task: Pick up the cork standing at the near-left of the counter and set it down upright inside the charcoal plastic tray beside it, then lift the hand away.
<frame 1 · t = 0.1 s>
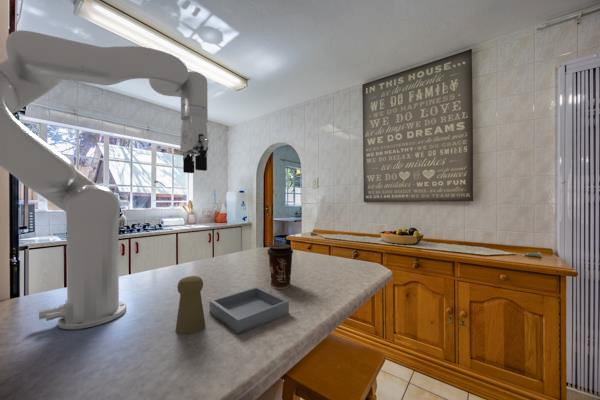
hand: (194, 171, 76), 37 cm above the countertop, tool pointing down, fingers open, 9 cm apart
coffee cup: (280, 286, 81), on the countertop
tray: (249, 312, 62), on the countertop
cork: (190, 328, 55), on the countertop
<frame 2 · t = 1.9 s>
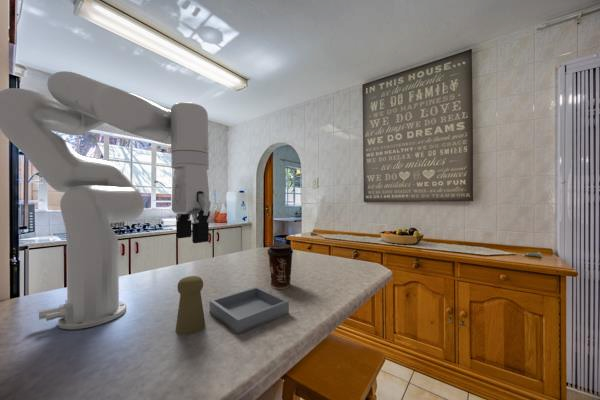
hand: (191, 239, 55), 19 cm above the countertop, tool pointing down, fingers open, 9 cm apart
nothing on the countertop moved.
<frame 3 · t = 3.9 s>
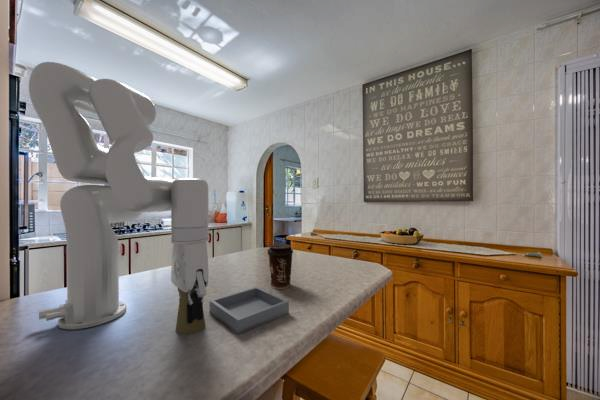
hand: (190, 316, 55), 2 cm above the countertop, tool pointing down, fingers closed on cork, 3 cm apart
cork: (190, 327, 55), on the countertop, touching gripper
everything else where it was.
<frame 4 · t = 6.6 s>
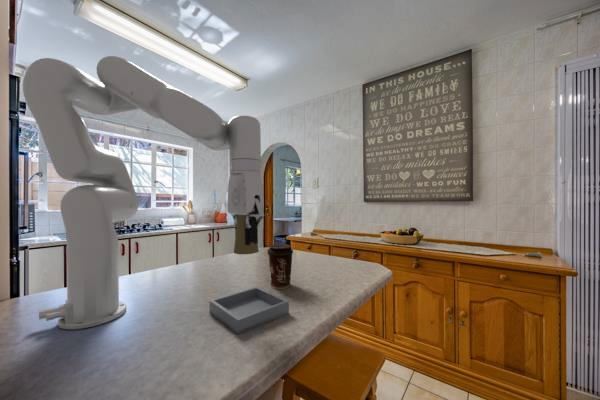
hand: (246, 242, 61), 18 cm above the countertop, tool pointing down, fingers closed on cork, 3 cm apart
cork: (246, 252, 61), point 15 cm above the countertop, touching gripper
everything else where it was.
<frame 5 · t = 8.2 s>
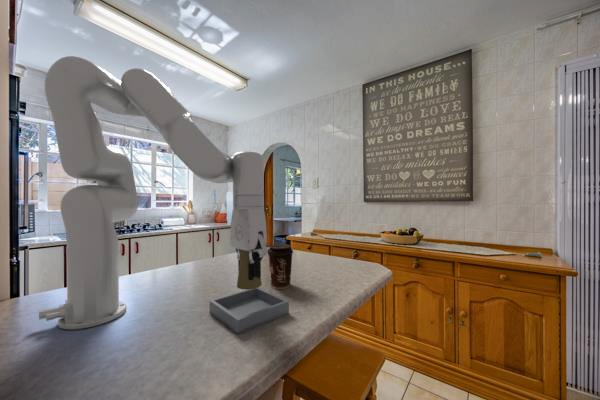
hand: (249, 275, 62), 9 cm above the countertop, tool pointing down, fingers closed on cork, 3 cm apart
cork: (249, 285, 62), point 7 cm above the countertop, touching gripper
everything else where it was.
when the fingers open (5 cm above the countertop, at t = 9.4 s): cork drops 2 cm, resting on tray.
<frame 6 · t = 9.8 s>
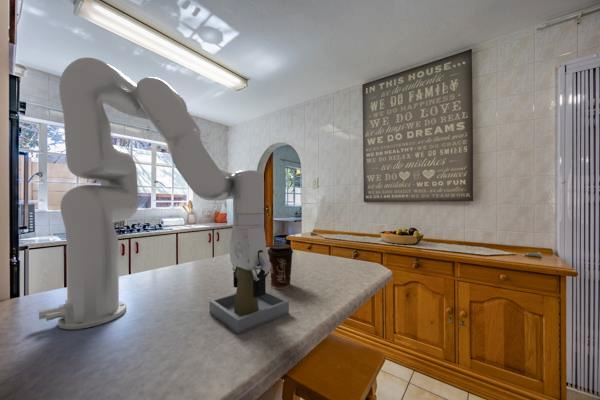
hand: (248, 290, 62), 6 cm above the countertop, tool pointing down, fingers open, 8 cm apart
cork: (246, 310, 62), resting on tray
everything else where it was.
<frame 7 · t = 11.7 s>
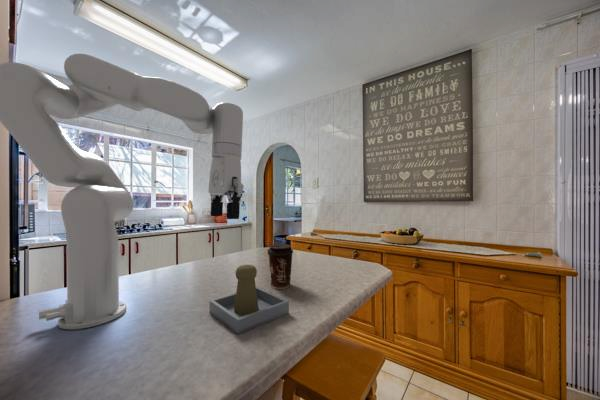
hand: (224, 217, 66), 23 cm above the countertop, tool pointing down, fingers open, 9 cm apart
nothing on the countertop moved.
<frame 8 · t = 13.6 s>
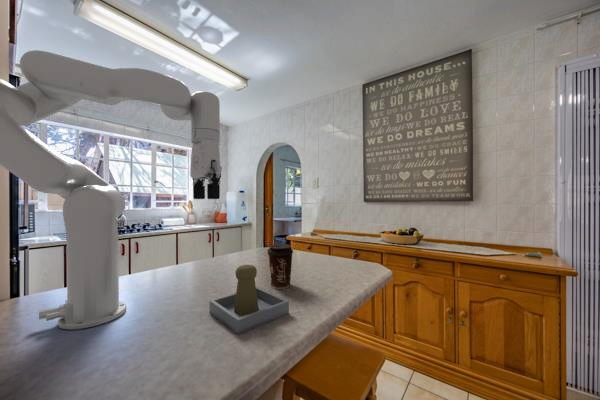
hand: (206, 199, 70), 28 cm above the countertop, tool pointing down, fingers open, 9 cm apart
nothing on the countertop moved.
at the end: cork inside the target area on the tray (0.9 cm from its centre), point 0.4 cm above the tray's base; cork tilted 0°; the gripper is holding nothing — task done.
